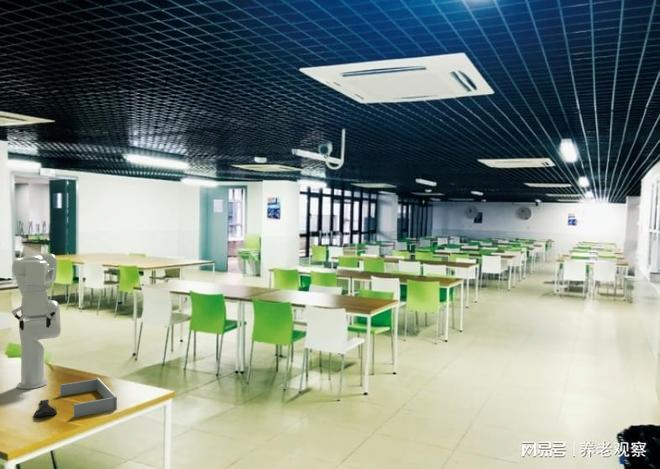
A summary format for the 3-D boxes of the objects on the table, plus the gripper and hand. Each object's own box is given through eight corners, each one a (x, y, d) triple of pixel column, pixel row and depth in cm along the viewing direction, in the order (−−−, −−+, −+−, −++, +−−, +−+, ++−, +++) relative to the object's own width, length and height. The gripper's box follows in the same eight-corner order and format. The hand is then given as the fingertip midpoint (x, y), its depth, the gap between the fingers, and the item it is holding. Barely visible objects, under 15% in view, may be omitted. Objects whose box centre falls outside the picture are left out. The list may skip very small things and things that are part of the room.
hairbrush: (54, 393, 225) (57, 408, 203) (54, 402, 225) (57, 417, 203) (33, 396, 220) (33, 412, 199) (33, 405, 220) (33, 421, 199)
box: (60, 395, 230) (60, 383, 230) (98, 389, 240) (98, 377, 239) (74, 417, 204) (74, 403, 204) (116, 409, 214) (116, 395, 214)
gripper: (56, 287, 228) (55, 325, 227) (11, 289, 217) (10, 329, 217) (59, 288, 222) (59, 327, 221) (13, 291, 211) (12, 331, 211)
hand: (35, 328), depth 219 cm, fingers open, 9 cm apart
